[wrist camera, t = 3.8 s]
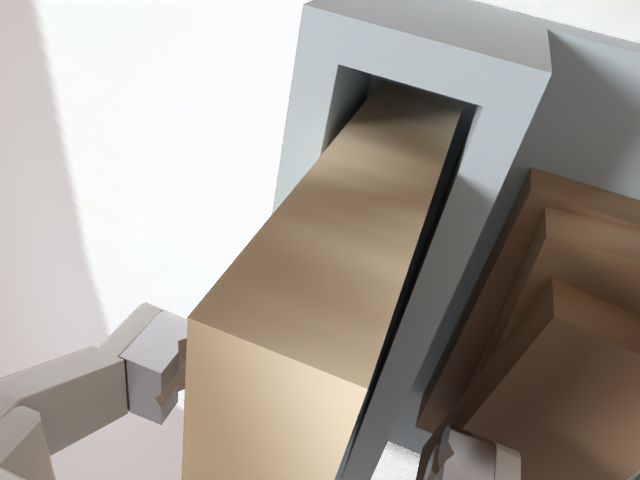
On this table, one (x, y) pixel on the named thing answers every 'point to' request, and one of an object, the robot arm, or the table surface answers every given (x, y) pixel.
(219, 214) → the table surface
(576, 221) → the offcut
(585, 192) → the offcut
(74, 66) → the table surface
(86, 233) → the table surface
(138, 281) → the table surface
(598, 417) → the offcut
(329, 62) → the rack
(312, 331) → the maple sheet
